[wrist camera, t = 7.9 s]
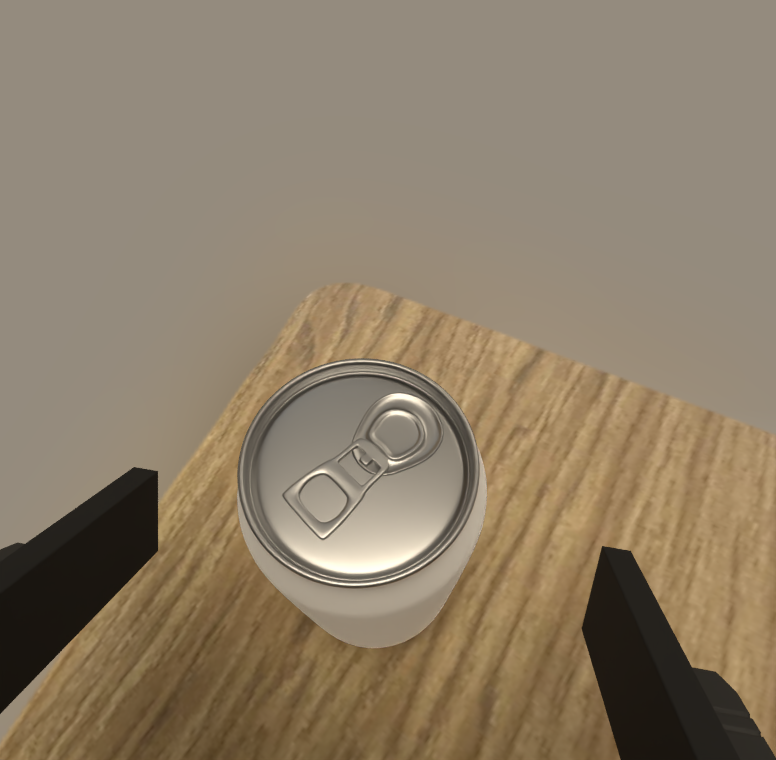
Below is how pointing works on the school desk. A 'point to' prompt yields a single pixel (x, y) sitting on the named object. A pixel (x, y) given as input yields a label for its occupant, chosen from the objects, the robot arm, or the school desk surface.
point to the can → (362, 497)
